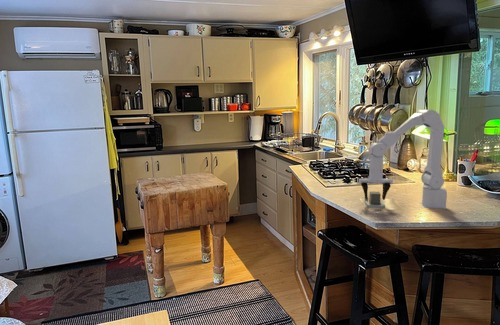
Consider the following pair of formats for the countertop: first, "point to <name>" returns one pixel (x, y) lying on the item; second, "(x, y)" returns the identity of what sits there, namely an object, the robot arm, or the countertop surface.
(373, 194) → the plug
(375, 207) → the holder
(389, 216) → the countertop surface
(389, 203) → the board
